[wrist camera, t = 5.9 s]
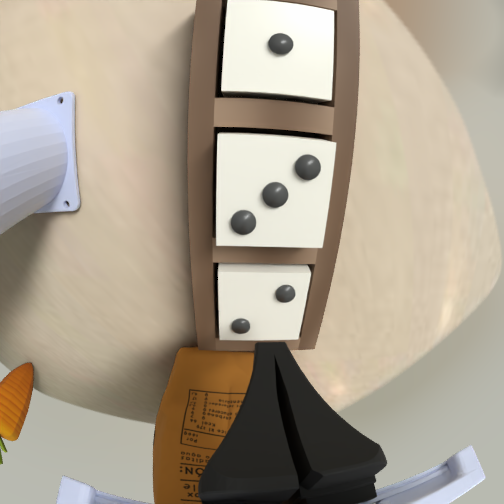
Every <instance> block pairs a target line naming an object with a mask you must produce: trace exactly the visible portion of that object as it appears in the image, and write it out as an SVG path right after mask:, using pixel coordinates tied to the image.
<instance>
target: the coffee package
mask: <svg viewBox="0 0 504 504" xmlns="http://www.w3.org/2000/svg"><path fill="white" fill-rule="evenodd" d="M253 360H254V353H253V352H231V351H212V350H198V347H190V348H187V347H182V348H180V349H179V351H178V352H177V354H176V358H175V362H174V366H173V368H172V371H171V374H170V378H169V381H168V384H167V387H166V390H165V393H164V395H163V397H162V400H161V404H160V407H159V411H158V414H157V418H156V424H155V432H154V442H153V492H154V502H155V504H202V501H201V500H200V498H199V497H198V484H199V480H200V477H201V475H202V473H203V471H204V469H205V467H206V465H207V462H208V461H209V459H210V458H211V457H212V455H213V454H214V452H215V451H216V450H217V448H218V447H219V445H220V444H221V442H222V440H223V439H224V437H225V435H226V434H227V432H228V430H229V429H230V427H231V425H232V423H233V421H234V419H235V417H236V415H237V413H238V411H239V409H240V406H241V404H242V402H243V399H244V397H245V394H246V391H247V388H248V385H249V382H250V379H251V375H252V370H253Z"/></svg>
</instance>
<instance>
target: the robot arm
mask: <svg viewBox="0 0 504 504" xmlns="http://www.w3.org/2000/svg"><path fill="white" fill-rule="evenodd" d="M62 97H63V102H62V104H61V102H60V101H61V99H62ZM67 201H68V202H69V206H68V205H67V203H66V202H67ZM79 207H80V196H79V187H78V178H77V166H76V151H75V95H74V93H73V92H64V93H60V94H57V95H54V96H51V97H47V98H44V99H41V100H38V101H35V102H33V103H30V104H27V105H24V106H22V107H19V108H17V109H14V110H5V111H0V235H1V234H2V233H4V232H5V231H6V230H8V229H9V228H11V227H12V226H14V225H15V224H17V223H18V222H20V221H21V220H23V219H24V218H26V217H27V216H29V215H31V214H32V213H47V212H64V211H75V210H77V209H78V208H79ZM386 464H387V460H386V457H385V455H384V453H383V451H382V449H381V447H380V445H379V444H377V443H375V442H374V441H372V440H370V439H369V438H367V437H366V436H364V435H363V434H361V433H360V432H359V431H357V430H356V429H355V428H353V427H352V426H351V425H350V424H348V423H347V422H346V421H345V420H344V419H343V418H341V417H340V416H339V415H338V414H337V413H336V412H335V411H334V410H333V409H332V408H331V407H330V406H329V405H328V404H327V403H326V402H325V401H324V400H323V398H322V397H321V396H320V395H319V394H318V393H317V391H316V390H315V389H314V387H313V386H312V385H311V383H310V382H309V381H308V379H307V378H306V376H305V375H304V373H303V372H302V370H301V369H300V367H299V366H298V364H297V362H296V361H295V359H294V357H293V356H292V354H291V352H290V350H289V348H288V346H287V344H286V343H285V342H257V343H256V344H255V349H254V360H253V370H252V375H251V379H250V382H249V385H248V388H247V391H246V394H245V397H244V399H243V402H242V404H241V406H240V409H239V411H238V413H237V415H236V417H235V419H234V421H233V423H232V425H231V427H230V429H229V430H228V432H227V434H226V435H225V437H224V439H223V440H222V442H221V444H220V445H219V447H218V448H217V450H216V451H215V452H214V454H213V455H212V457H211V458H210V459H209V461H208V462H207V465H206V467H205V469H204V471H203V473H202V475H201V477H200V480H199V484H198V497H199V498H200V500H201V501H202V504H374V503H375V504H449V503H450V502H452V501H454V500H455V499H457V498H458V497H459V496H461V495H463V494H464V493H465V492H467V491H468V490H470V489H471V488H473V487H474V486H475V485H477V484H478V483H480V482H481V481H483V480H484V479H485V475H484V472H483V470H482V468H481V465H480V463H479V461H478V458H477V456H476V454H475V452H474V449H473V447H472V445H469V446H468V447H466V448H464V449H462V450H461V451H459V452H457V453H456V454H454V455H453V456H451V457H450V458H449V459H447V461H445V462H443V463H441V464H439V465H437V466H435V467H433V468H431V469H428V470H426V471H424V472H422V473H420V474H417V475H415V476H412V477H410V478H408V479H405V480H403V481H400V482H398V483H395V484H392V485H389V486H386V487H383V488H380V489H377V490H375V486H374V483H375V482H376V479H375V474H377V473H378V472H379V471H380V470H382V469H383V468H384V467H385V466H386ZM56 504H150V503H145V502H140V501H136V500H131V499H127V498H123V497H119V496H115V495H111V494H108V493H104V492H102V491H98V490H96V489H95V488H93V487H92V486H90V485H88V484H85V483H83V482H80V481H77V480H75V479H72V478H69V477H67V476H62V480H61V484H60V488H59V492H58V496H57V501H56Z"/></svg>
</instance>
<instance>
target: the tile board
mask: <svg viewBox="0 0 504 504" xmlns="http://www.w3.org/2000/svg"><path fill="white" fill-rule="evenodd" d="M267 1H277V2H286V3H293V4H300V5H306V6H312V7H317V8H322V9H327V10H331V11H334V57H333V82H332V100H330V101H325V102H320V103H318V105H314V104H307V103H299V102H290V101H279V100H266V99H249V98H219V91H220V73H221V57H222V42H223V29H224V17H226V13H227V2H228V0H197V1H196V10H195V19H194V29H193V39H192V51H191V65H190V82H189V104H188V149H187V171H188V218H189V241H190V260H191V275H192V289H193V301H194V312H195V323H196V333H197V342H198V350H212V351H254V349H255V344H256V343H257V342H285V343H286V344H287V346H288V348H289V350H306V349H315V345H316V342H317V338H318V334H319V330H320V327H321V323H322V319H323V315H324V311H325V307H326V303H327V299H328V294H329V290H330V286H331V281H332V277H333V272H334V268H335V263H336V258H337V253H338V248H339V243H340V237H341V232H342V226H343V220H344V214H345V208H346V202H347V195H348V189H349V182H350V174H351V166H352V158H353V149H354V140H355V129H356V117H357V104H358V86H359V56H360V29H359V0H267ZM218 127H250V128H268V129H282V130H294V131H304V132H312V133H315V138H318V139H323V140H327V141H331V142H335V143H336V152H335V161H334V170H333V178H332V186H331V194H330V201H329V209H328V215H327V222H326V229H325V235H324V241H323V247H322V248H300V247H257V246H216V188H217V141H218ZM217 263H270V264H307V265H308V267H309V269H310V271H311V277H310V283H309V288H308V293H307V299H306V304H305V309H304V314H303V319H302V324H301V329H300V333H299V338H298V339H296V340H220V336H219V310H217Z"/></svg>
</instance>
